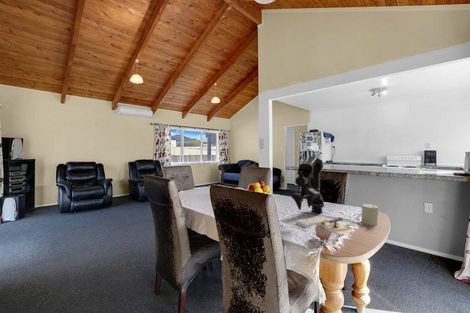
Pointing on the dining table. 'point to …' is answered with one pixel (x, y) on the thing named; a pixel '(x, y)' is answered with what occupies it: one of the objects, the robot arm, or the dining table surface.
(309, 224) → the cover
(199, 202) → the dining table surface
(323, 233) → the decorative fruit
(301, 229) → the mat
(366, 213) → the can
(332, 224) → the board
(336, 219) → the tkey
